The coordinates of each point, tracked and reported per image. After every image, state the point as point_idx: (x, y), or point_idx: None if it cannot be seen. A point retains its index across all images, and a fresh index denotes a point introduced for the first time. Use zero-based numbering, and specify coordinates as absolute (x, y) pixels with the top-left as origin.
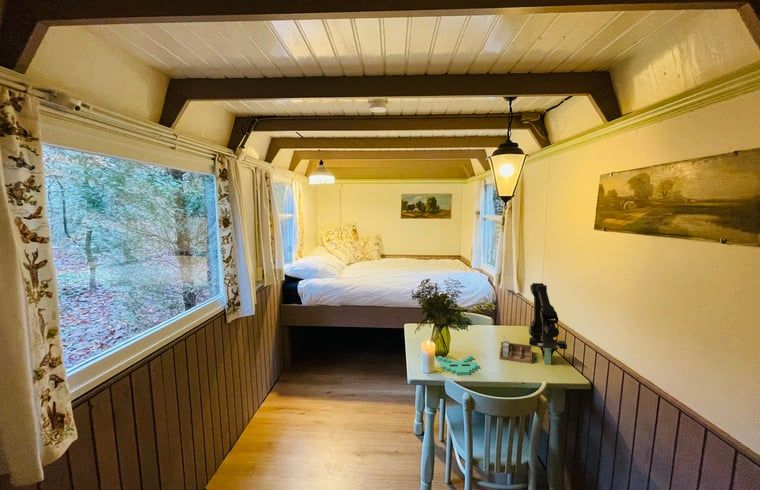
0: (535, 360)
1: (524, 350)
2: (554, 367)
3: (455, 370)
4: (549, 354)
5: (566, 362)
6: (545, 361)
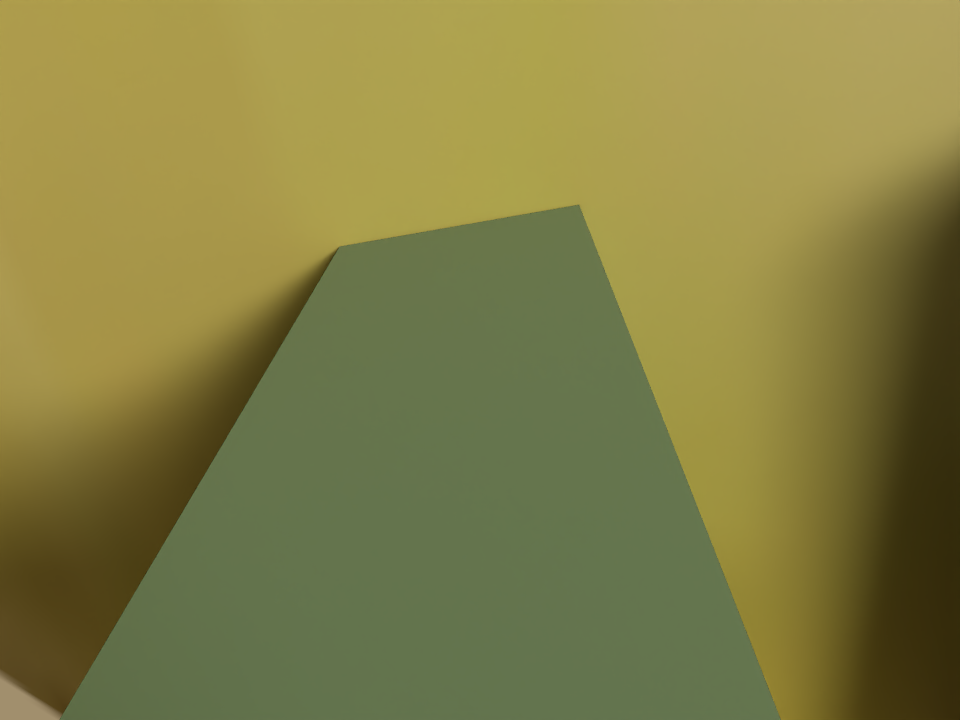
0: (929, 403)
1: None
2: (142, 100)
3: None
4: (208, 702)
5: (26, 658)
6: (559, 264)
